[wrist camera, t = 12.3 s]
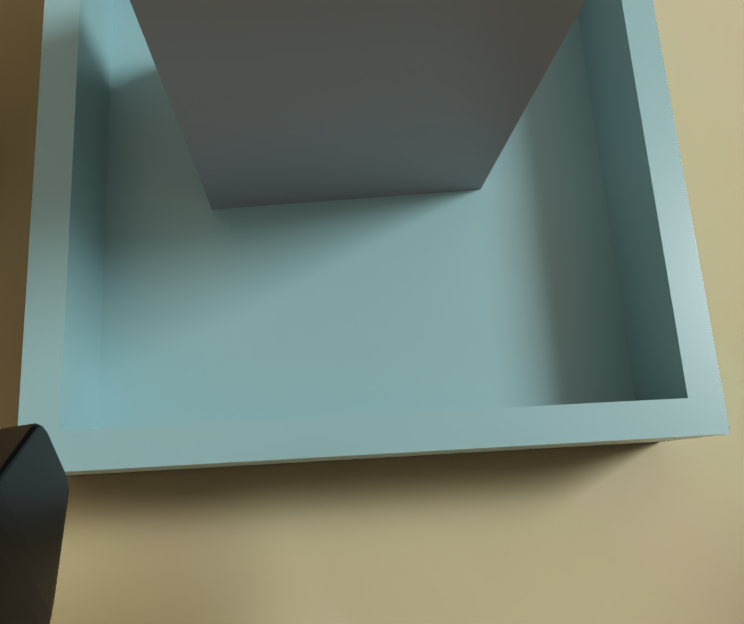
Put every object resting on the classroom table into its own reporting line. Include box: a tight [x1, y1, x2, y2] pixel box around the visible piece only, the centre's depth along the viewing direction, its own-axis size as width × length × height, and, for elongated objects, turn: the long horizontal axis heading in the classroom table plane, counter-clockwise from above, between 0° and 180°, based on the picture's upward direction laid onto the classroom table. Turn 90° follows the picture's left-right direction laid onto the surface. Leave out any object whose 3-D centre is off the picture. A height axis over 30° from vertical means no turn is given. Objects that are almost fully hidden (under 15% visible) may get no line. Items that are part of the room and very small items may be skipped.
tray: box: [18, 0, 730, 476], centre depth 17 cm, size 15×15×3 cm
